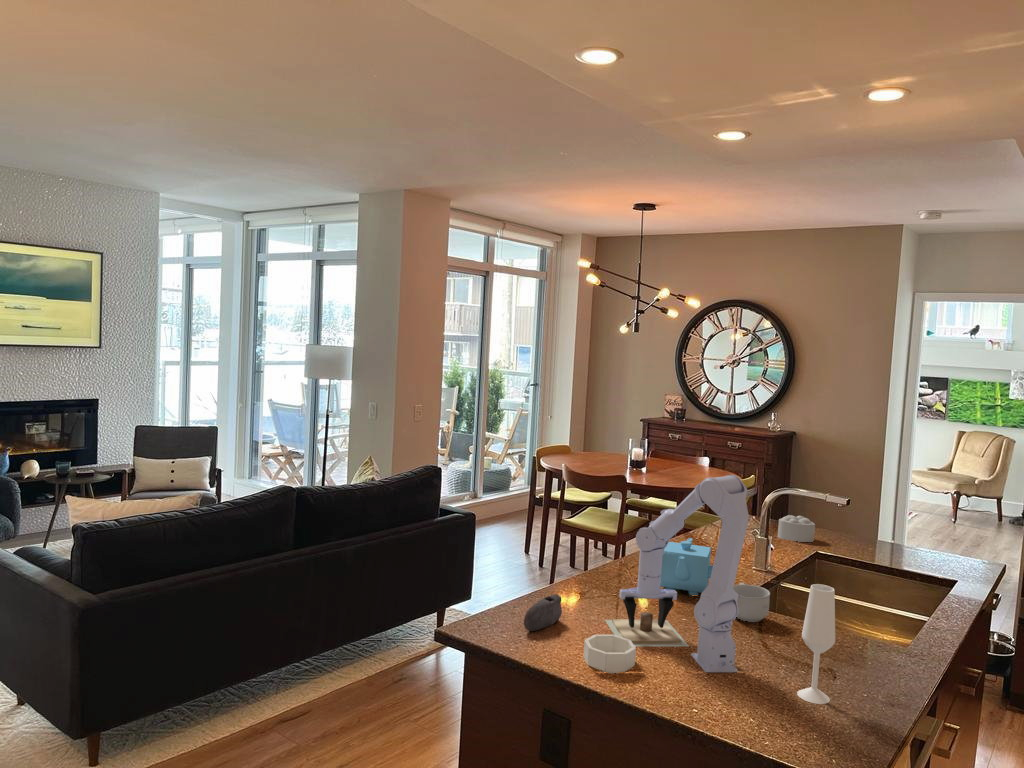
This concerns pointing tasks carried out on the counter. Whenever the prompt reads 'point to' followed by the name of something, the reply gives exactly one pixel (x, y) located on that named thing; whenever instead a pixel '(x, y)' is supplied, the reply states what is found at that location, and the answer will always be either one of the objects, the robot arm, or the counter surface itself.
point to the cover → (646, 631)
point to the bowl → (609, 653)
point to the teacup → (752, 602)
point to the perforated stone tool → (543, 613)
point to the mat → (650, 644)
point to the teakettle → (686, 567)
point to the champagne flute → (818, 635)
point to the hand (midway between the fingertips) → (645, 626)
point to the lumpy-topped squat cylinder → (796, 529)
